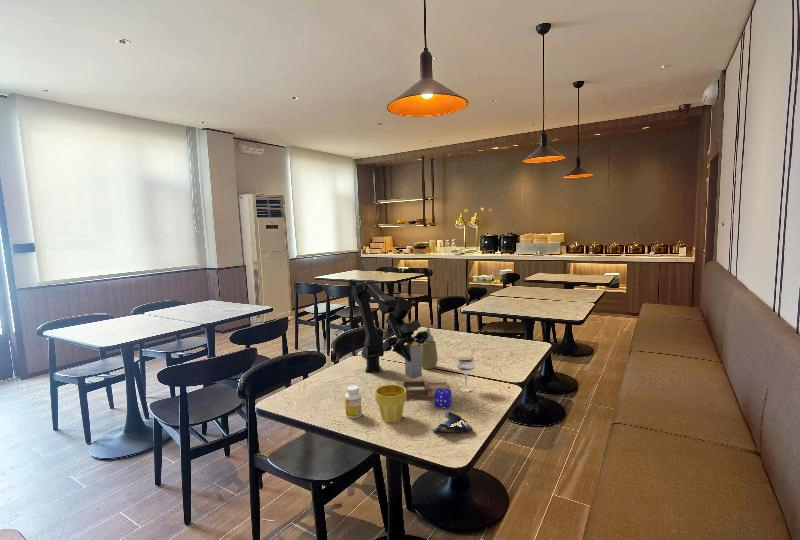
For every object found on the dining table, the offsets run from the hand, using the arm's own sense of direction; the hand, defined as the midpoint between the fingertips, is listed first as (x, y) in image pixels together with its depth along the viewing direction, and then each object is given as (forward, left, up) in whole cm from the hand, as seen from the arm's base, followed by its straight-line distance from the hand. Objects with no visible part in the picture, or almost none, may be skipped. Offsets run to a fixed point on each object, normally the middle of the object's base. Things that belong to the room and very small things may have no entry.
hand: (415, 359), depth 158 cm
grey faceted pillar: (-1, -1, -7) cm, 7 cm away
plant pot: (+20, -8, -14) cm, 26 cm away
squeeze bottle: (-30, +6, -14) cm, 34 cm away
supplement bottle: (+17, -22, -14) cm, 31 cm away
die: (+10, +10, -14) cm, 19 cm away
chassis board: (-2, +2, -13) cm, 14 cm away
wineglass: (-3, +19, -14) cm, 24 cm away
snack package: (+28, +11, -14) cm, 33 cm away
